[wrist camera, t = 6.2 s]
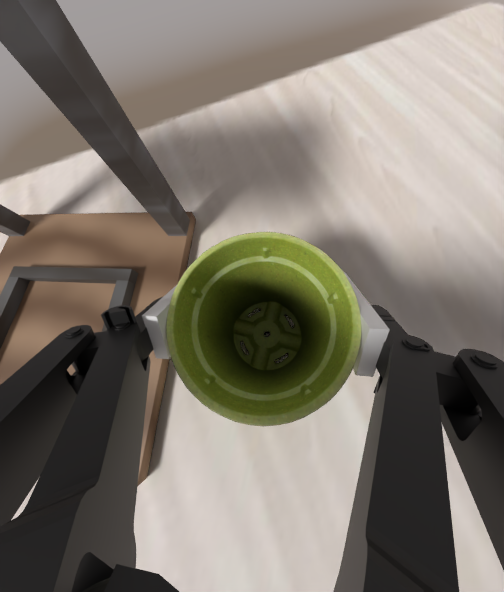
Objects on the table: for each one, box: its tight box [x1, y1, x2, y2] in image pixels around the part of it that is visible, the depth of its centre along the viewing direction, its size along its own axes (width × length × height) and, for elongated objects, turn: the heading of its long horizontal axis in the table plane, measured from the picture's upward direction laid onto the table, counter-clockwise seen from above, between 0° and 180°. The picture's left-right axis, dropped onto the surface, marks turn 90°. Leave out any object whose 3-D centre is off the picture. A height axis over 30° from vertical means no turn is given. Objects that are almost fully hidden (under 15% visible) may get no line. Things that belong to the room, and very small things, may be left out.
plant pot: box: [166, 232, 361, 426], centre depth 14 cm, size 9×9×9 cm
